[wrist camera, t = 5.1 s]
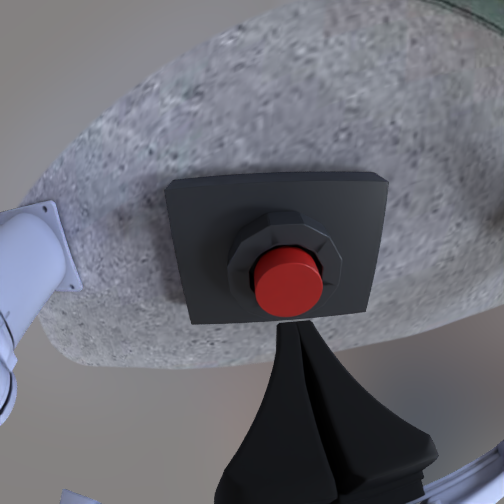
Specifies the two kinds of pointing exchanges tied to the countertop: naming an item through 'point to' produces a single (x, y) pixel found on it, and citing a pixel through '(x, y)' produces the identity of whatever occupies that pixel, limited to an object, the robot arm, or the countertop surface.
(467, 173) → the countertop surface
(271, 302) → the power button
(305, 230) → the control box
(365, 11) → the countertop surface
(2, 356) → the robot arm
